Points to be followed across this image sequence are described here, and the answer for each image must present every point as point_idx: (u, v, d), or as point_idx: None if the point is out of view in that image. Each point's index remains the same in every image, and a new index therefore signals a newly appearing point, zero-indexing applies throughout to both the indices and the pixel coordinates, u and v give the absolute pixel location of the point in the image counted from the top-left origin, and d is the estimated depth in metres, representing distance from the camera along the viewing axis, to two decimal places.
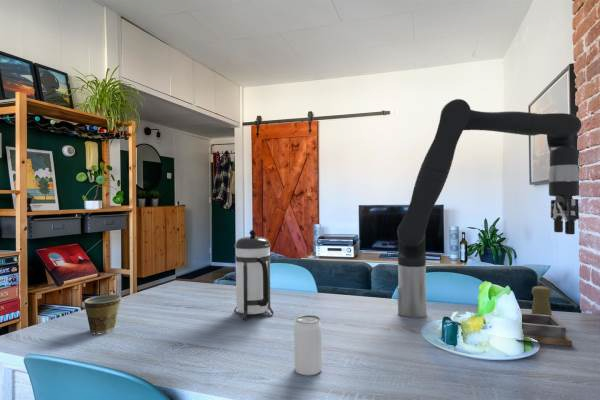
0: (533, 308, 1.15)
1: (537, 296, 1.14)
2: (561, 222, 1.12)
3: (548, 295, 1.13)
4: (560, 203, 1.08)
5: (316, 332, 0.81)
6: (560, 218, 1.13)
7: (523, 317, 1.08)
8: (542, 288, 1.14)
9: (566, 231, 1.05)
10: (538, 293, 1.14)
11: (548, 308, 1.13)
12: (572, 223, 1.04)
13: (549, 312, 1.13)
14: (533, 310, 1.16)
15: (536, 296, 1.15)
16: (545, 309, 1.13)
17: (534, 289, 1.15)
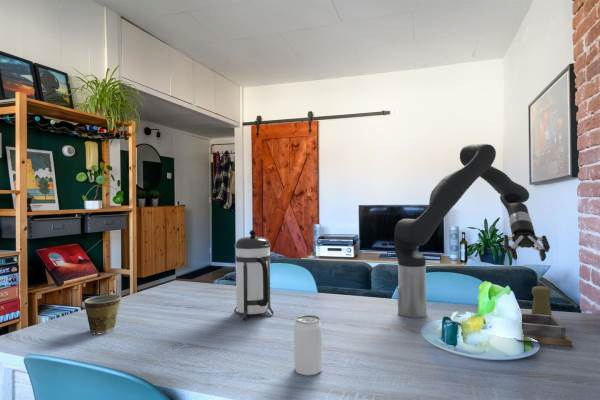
0: (533, 308, 1.15)
1: (537, 296, 1.14)
2: None
3: (548, 295, 1.13)
4: None
5: (316, 332, 0.81)
6: None
7: (523, 317, 1.08)
8: (542, 288, 1.14)
9: (544, 256, 1.27)
10: (538, 293, 1.14)
11: (548, 308, 1.13)
12: None
13: (549, 312, 1.13)
14: (533, 310, 1.16)
15: (536, 296, 1.15)
16: (545, 309, 1.13)
17: (534, 289, 1.15)
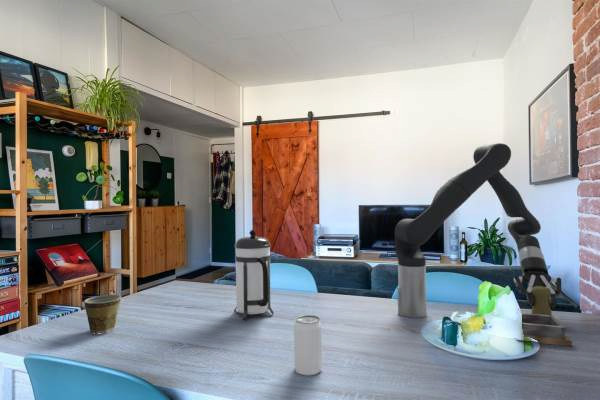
0: (533, 308, 1.15)
1: (537, 296, 1.14)
2: None
3: (548, 295, 1.13)
4: None
5: (316, 332, 0.81)
6: None
7: (523, 317, 1.08)
8: (542, 288, 1.14)
9: (554, 302, 1.12)
10: (538, 293, 1.14)
11: (548, 308, 1.13)
12: None
13: (549, 312, 1.13)
14: (533, 310, 1.16)
15: (536, 296, 1.15)
16: (545, 308, 1.13)
17: (534, 289, 1.15)
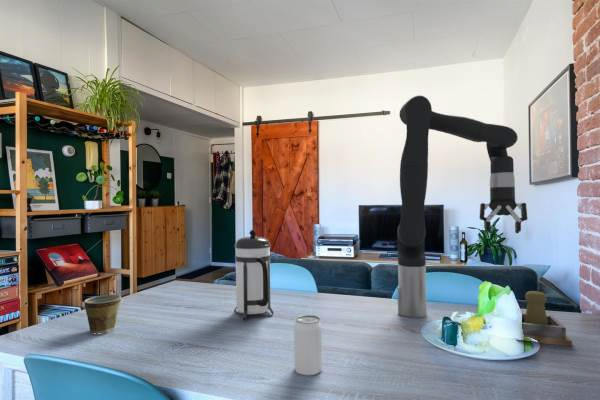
0: (527, 315, 1.03)
1: (531, 302, 1.02)
2: None
3: (543, 301, 1.01)
4: (509, 206, 1.21)
5: (316, 332, 0.81)
6: None
7: (523, 317, 1.08)
8: (537, 293, 1.02)
9: (518, 230, 1.20)
10: (532, 299, 1.02)
11: (543, 316, 1.01)
12: None
13: (544, 320, 1.01)
14: (527, 318, 1.03)
15: (530, 302, 1.02)
16: (540, 316, 1.01)
17: (528, 294, 1.03)
